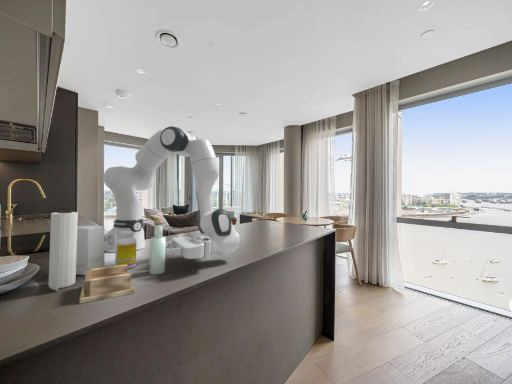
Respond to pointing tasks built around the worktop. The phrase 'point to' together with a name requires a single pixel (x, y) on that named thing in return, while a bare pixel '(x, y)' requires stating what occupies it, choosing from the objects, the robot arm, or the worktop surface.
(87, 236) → the skincare box
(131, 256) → the supplement bottle
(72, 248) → the paper towel roll
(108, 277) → the bottle stand
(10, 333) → the worktop surface
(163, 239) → the glass bottle
